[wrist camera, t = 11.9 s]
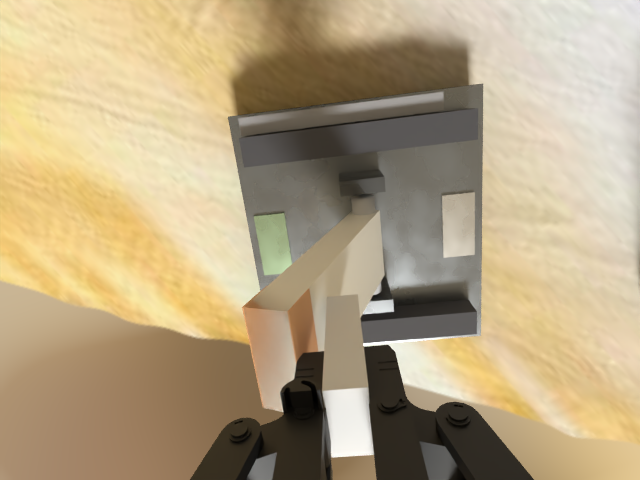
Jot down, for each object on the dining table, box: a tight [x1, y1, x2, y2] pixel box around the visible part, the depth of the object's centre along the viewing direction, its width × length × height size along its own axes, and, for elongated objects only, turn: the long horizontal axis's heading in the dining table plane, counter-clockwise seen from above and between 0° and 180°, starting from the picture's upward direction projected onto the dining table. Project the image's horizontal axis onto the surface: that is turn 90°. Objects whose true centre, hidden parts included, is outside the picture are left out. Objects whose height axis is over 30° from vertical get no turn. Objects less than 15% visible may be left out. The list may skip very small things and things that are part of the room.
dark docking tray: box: [238, 92, 478, 344], centre depth 29 cm, size 18×16×2 cm
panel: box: [228, 84, 483, 345], centre depth 30 cm, size 20×18×6 cm
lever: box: [242, 194, 385, 412], centre depth 22 cm, size 7×2×15 cm, turn 7°
